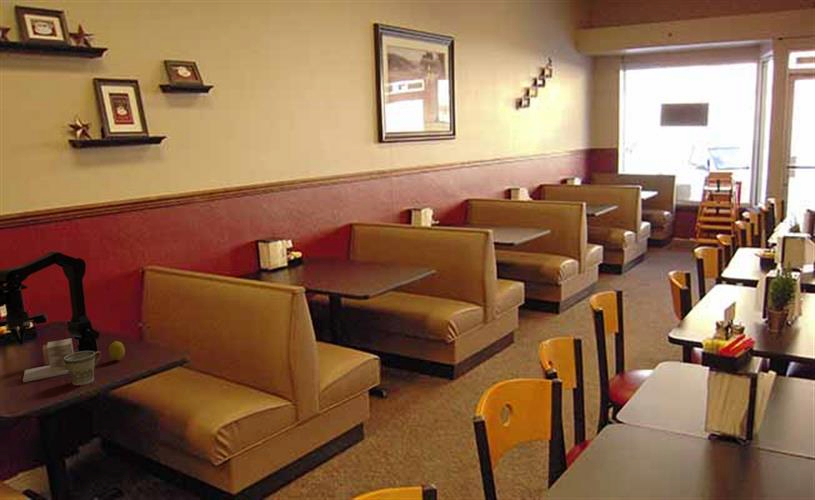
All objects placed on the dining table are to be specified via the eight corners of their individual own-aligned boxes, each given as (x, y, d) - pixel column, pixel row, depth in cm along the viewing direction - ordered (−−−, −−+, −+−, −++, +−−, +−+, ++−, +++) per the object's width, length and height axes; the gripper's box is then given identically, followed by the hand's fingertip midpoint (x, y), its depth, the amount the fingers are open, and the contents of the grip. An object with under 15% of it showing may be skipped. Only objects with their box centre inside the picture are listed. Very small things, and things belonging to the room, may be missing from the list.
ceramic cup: (78, 389, 226) (74, 362, 224) (62, 385, 231) (57, 358, 229) (112, 376, 236) (108, 350, 234) (96, 372, 242) (92, 346, 240)
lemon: (129, 358, 255) (126, 339, 253) (117, 363, 250) (114, 343, 248) (119, 357, 257) (116, 338, 255) (107, 362, 252) (104, 342, 251)
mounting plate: (78, 362, 254) (78, 359, 254) (78, 371, 244) (78, 368, 244) (25, 372, 247) (25, 369, 247) (23, 382, 236) (22, 379, 236)
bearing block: (75, 361, 252) (71, 338, 250) (75, 367, 245) (71, 343, 243) (51, 366, 249) (47, 342, 247) (51, 372, 242) (46, 348, 240)
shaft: (74, 355, 251) (71, 340, 250) (73, 359, 245) (71, 344, 244) (45, 360, 247) (43, 345, 245) (45, 364, 241) (42, 349, 240)
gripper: (-19, 312, 225) (-12, 355, 228) (42, 303, 233) (49, 345, 236) (-15, 305, 235) (-8, 347, 238) (43, 297, 243) (50, 337, 246)
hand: (21, 344), depth 239 cm, fingers closed
